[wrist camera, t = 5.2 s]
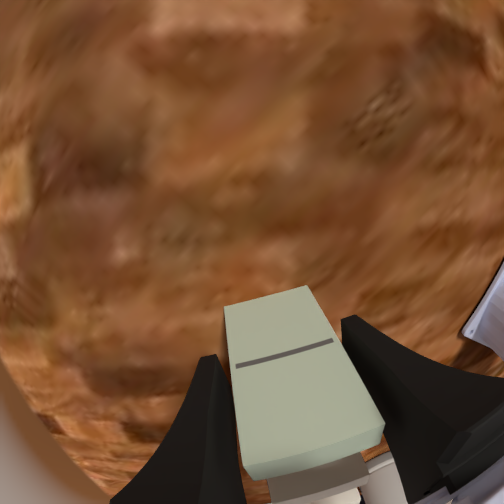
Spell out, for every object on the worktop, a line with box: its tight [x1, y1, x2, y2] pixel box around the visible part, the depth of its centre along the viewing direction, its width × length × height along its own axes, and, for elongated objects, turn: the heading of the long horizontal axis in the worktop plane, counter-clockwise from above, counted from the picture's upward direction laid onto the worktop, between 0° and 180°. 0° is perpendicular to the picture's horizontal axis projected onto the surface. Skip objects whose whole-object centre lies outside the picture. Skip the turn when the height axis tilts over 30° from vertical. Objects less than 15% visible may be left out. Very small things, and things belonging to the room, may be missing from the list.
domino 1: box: [224, 285, 385, 481], centre depth 10 cm, size 1×4×8 cm, turn 102°
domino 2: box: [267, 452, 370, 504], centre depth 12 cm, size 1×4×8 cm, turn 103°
